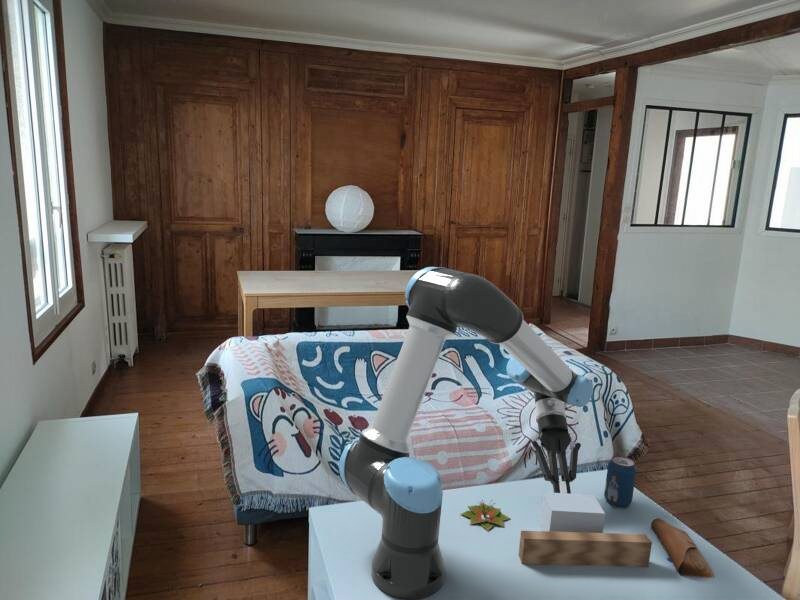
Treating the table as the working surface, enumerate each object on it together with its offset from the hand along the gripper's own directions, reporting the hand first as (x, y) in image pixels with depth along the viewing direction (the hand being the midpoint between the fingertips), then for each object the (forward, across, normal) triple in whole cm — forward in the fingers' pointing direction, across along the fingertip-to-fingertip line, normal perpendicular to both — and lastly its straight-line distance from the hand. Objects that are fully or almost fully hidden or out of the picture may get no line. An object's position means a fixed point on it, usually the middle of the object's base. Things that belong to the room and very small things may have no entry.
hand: (564, 509), depth 139 cm
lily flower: (+2, -19, +5) cm, 19 cm away
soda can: (-5, +18, +11) cm, 21 cm away
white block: (+7, 0, -1) cm, 7 cm away
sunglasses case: (+10, +24, -4) cm, 27 cm away
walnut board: (+13, 0, -7) cm, 15 cm away
